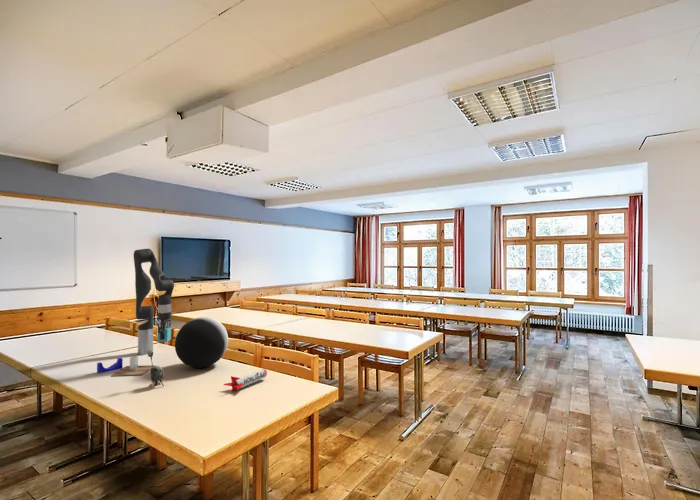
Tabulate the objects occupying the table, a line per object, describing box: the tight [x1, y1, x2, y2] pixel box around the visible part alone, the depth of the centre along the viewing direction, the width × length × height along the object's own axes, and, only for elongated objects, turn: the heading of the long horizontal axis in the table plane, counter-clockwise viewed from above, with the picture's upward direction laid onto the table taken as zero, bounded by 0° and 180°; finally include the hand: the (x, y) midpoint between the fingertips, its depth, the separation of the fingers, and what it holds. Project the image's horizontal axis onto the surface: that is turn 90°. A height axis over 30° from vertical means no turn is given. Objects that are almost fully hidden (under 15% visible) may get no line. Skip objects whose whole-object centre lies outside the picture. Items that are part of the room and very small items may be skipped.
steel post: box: [129, 355, 139, 371], centre depth 200 cm, size 3×3×8 cm
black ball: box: [174, 316, 229, 369], centre depth 211 cm, size 30×30×30 cm
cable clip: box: [96, 357, 123, 374], centre depth 203 cm, size 12×4×6 cm, turn 146°
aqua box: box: [157, 326, 172, 343], centre depth 217 cm, size 6×6×8 cm
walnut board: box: [110, 364, 156, 378], centre depth 200 cm, size 16×16×1 cm
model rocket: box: [223, 368, 268, 393], centre depth 177 cm, size 11×23×10 cm, turn 149°
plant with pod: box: [147, 350, 165, 387], centre depth 177 cm, size 8×11×20 cm
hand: (164, 338), depth 217 cm, fingers closed on aqua box, 5 cm apart
